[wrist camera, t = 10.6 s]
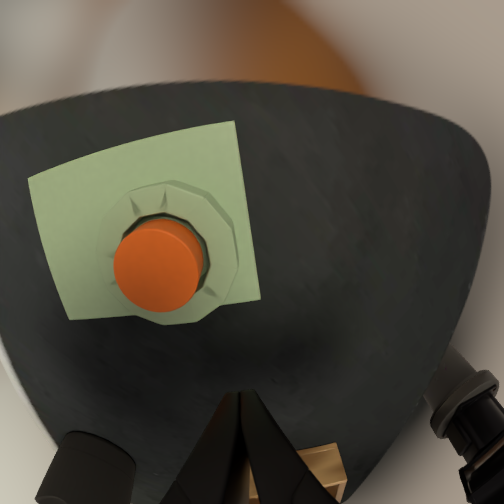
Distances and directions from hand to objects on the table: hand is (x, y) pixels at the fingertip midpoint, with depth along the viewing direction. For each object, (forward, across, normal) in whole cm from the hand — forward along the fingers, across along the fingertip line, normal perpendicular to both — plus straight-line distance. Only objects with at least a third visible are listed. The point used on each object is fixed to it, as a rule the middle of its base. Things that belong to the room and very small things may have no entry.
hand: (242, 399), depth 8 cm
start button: (+6, +3, -3) cm, 7 cm away
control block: (+9, +5, -4) cm, 11 cm away
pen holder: (+9, +19, +19) cm, 29 cm away
